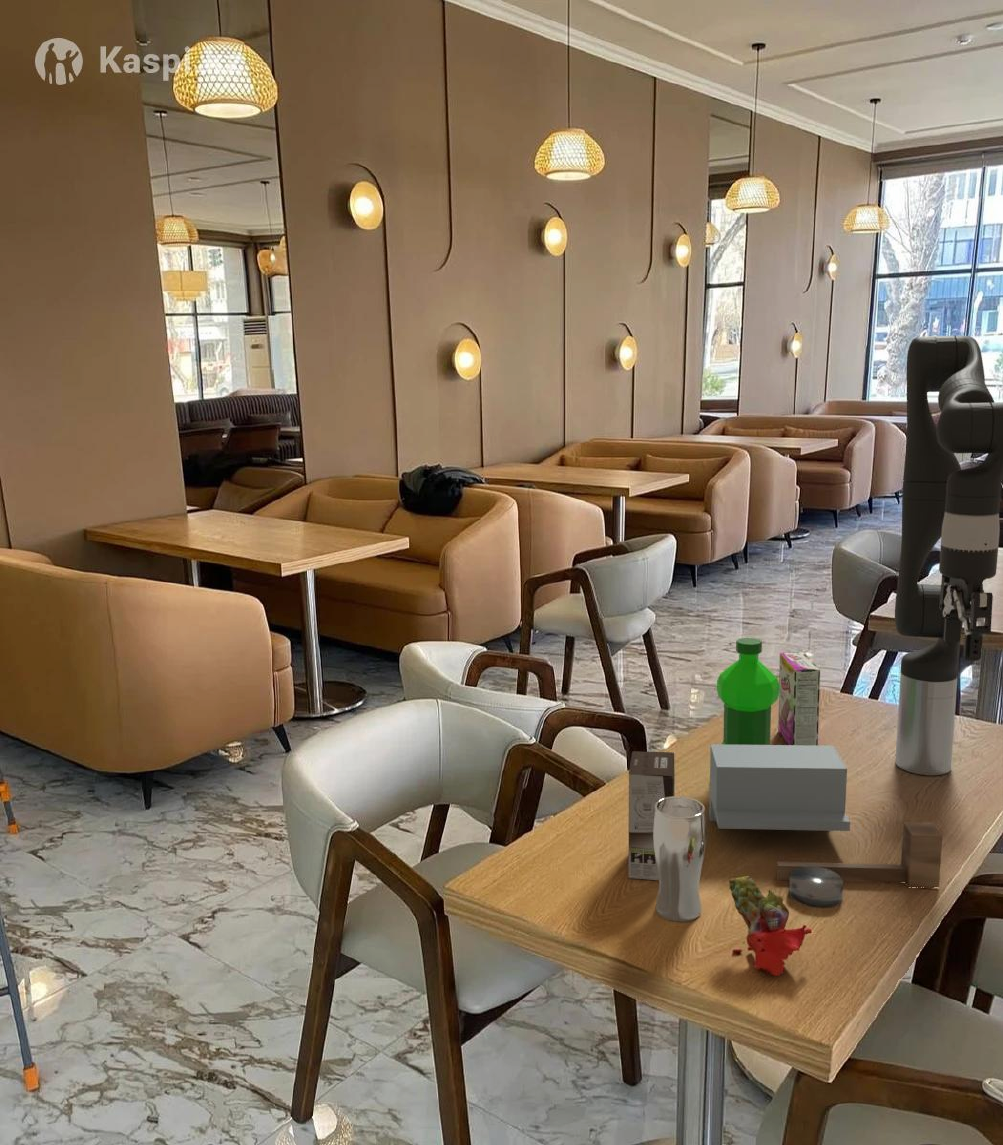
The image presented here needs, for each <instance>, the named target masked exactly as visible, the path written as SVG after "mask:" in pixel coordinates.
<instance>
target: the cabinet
mask: <svg viewBox="0 0 1003 1145" xmlns="http://www.w3.org/2000/svg"><path fill="white" fill-rule="evenodd" d="M709 748H710V755H709V762H710V763H709V815H708V816H709V821H710V822H716V826H717V828H718V829H725V830H726V829H727V830H729V829H730V830H732V829H735V830H737V829H738V830H770V831H771V830H774V831H775V830H778V831H779V830H780V831H781V830H782V831H784V830H785V831H823V832H824V831H828V832H829V831H830V832H831V831H837V832H850V828H851V821H850V819H849V817H848V815H847V813H846V800H847V779H848V768H847V766H846V765H845V762H844V761H843V759H842V758H841V756H840V755H839V753H838V751H837V750H836V748H835V746H834V745H818V746H815V745H788V744H784V745H783V744H776V745H775V744H770V745H722V743H721V744H719V743H718V744H714V743H713V744H710V747H709Z"/></svg>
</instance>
